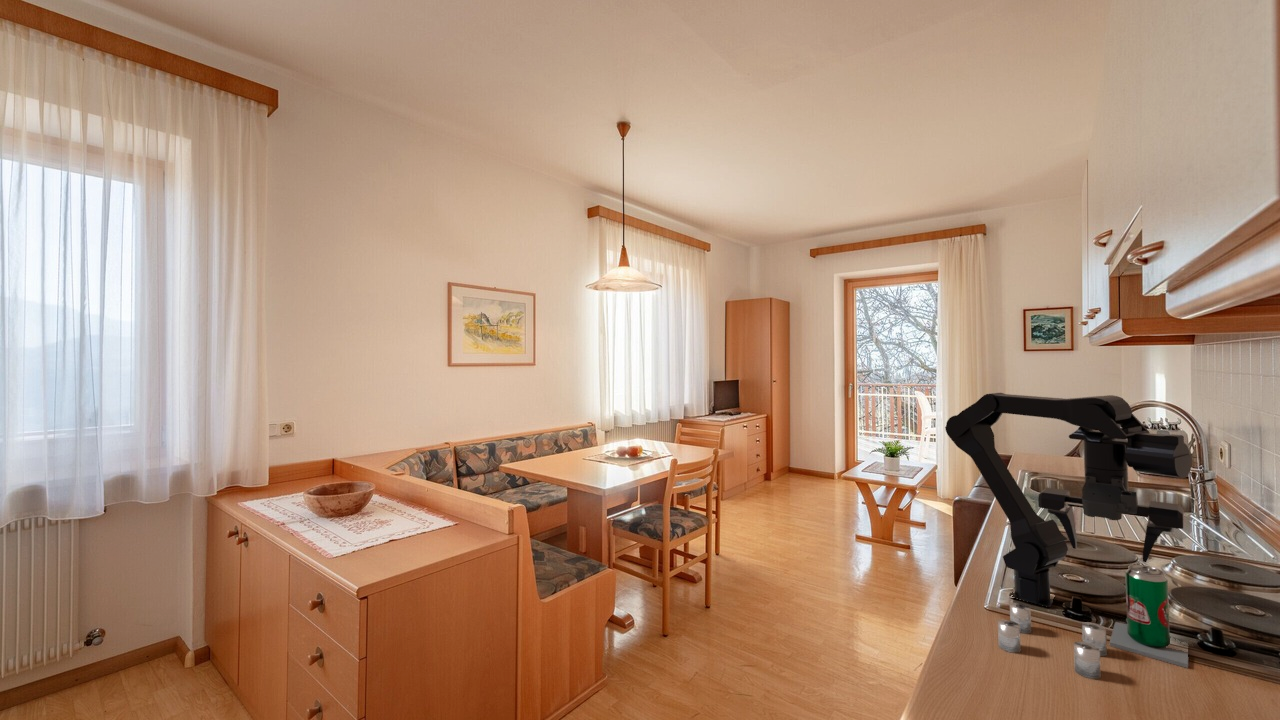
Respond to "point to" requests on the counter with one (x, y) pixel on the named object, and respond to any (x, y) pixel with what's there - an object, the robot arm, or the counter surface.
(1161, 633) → the soda can
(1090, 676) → the spacer posts
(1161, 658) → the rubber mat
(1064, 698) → the counter surface
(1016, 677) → the counter surface
